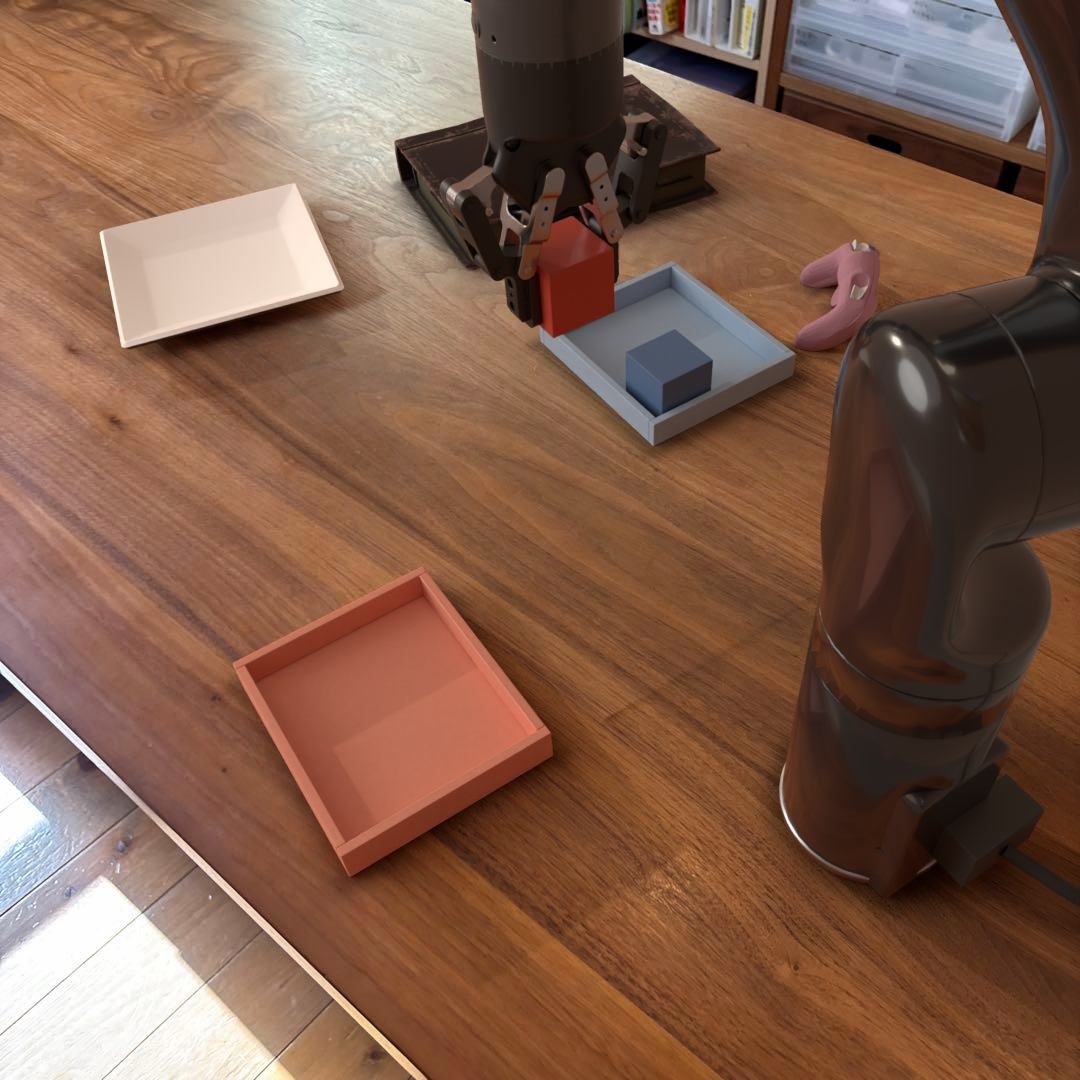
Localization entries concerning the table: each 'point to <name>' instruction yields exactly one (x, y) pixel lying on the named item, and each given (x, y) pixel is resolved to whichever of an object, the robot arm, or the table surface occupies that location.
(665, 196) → the diary
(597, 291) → the red block
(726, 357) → the blue tray
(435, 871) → the table surface
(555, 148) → the robot arm
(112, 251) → the plate
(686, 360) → the blue block
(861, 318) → the video game controller
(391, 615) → the red tray
